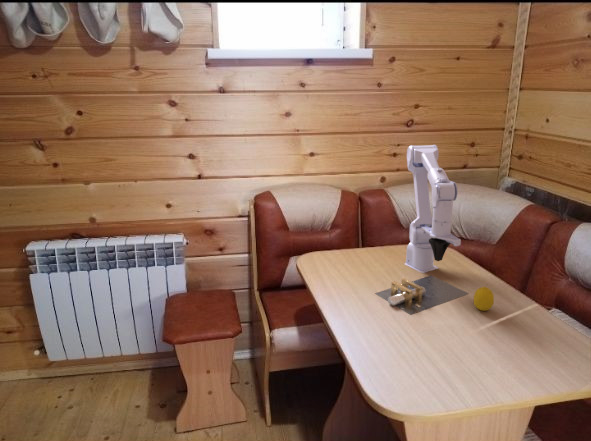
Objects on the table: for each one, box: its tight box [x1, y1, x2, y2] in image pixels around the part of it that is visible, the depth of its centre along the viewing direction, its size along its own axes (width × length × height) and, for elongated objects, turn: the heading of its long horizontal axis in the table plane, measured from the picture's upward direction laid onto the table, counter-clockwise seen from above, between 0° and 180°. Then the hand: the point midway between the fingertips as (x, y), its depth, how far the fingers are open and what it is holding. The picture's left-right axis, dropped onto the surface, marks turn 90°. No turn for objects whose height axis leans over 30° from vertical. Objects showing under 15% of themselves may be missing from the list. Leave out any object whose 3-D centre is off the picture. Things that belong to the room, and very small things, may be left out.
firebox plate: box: [374, 275, 470, 316], centre depth 150 cm, size 16×25×5 cm, turn 121°
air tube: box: [387, 286, 426, 307], centre depth 146 cm, size 13×3×3 cm
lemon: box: [473, 286, 495, 312], centre depth 139 cm, size 6×6×8 cm
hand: (438, 260), depth 153 cm, fingers closed
